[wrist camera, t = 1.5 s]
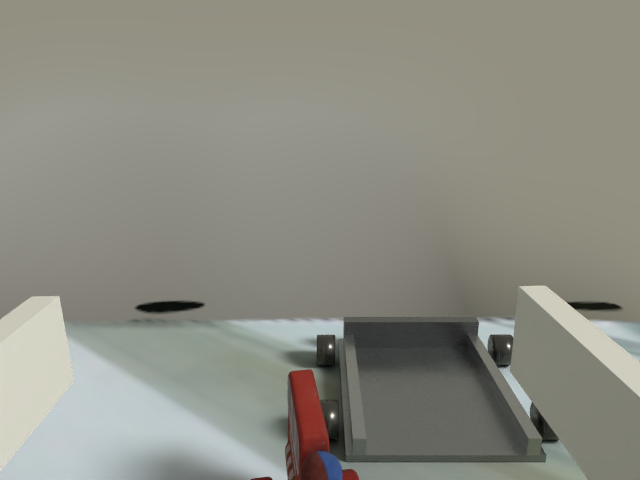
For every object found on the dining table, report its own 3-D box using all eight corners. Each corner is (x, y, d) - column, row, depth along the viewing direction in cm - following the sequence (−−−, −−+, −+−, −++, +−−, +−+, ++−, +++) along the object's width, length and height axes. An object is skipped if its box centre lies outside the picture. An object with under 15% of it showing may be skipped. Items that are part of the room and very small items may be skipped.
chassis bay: (315, 461, 37) (315, 421, 36) (317, 343, 54) (317, 313, 53) (576, 461, 37) (583, 421, 36) (495, 343, 54) (499, 313, 53)
